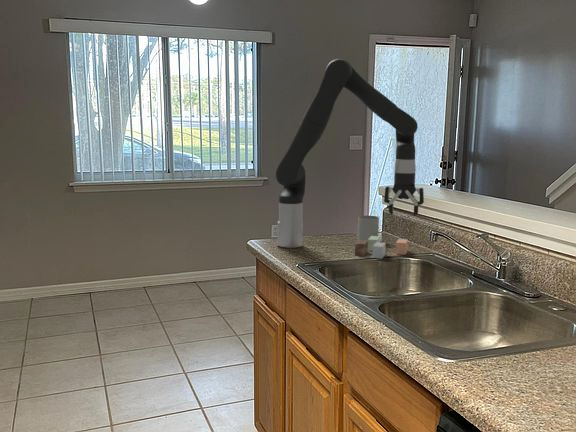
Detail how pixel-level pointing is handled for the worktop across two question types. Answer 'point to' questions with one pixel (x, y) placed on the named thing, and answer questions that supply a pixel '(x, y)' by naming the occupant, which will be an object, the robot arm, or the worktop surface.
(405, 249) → the terracotta brick
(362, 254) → the walnut brick
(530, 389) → the worktop surface
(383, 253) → the grey brick
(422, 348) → the worktop surface
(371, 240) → the sage brick
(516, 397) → the worktop surface
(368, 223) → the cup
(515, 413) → the worktop surface
